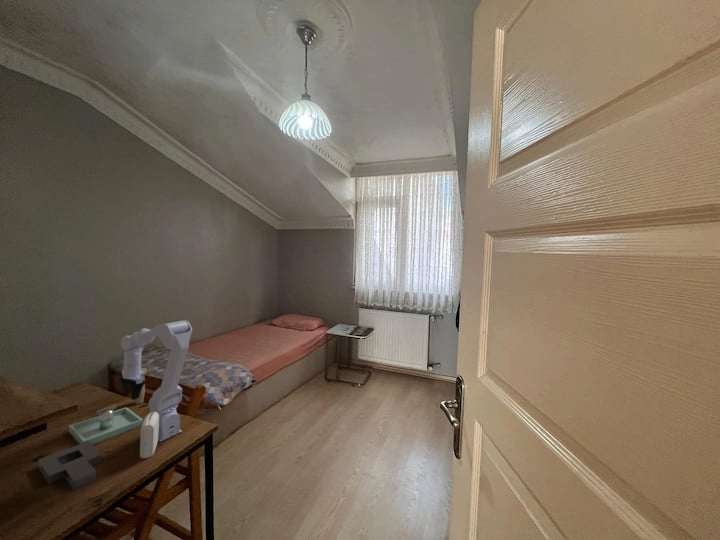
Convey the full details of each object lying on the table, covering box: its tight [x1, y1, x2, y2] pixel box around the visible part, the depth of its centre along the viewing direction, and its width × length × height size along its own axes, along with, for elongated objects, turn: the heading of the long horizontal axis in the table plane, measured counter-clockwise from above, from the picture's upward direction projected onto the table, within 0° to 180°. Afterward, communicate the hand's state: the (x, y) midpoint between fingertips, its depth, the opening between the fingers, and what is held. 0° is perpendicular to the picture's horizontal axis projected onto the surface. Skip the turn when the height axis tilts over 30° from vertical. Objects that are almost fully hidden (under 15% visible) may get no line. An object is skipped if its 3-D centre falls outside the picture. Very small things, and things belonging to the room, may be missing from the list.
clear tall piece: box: [96, 404, 118, 430], centre depth 114 cm, size 6×4×8 cm, turn 158°
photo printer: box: [139, 411, 159, 459], centre depth 104 cm, size 10×4×12 cm, turn 25°
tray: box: [68, 406, 144, 446], centre depth 114 cm, size 16×18×2 cm
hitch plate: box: [37, 441, 102, 490], centre depth 92 cm, size 20×12×2 cm, turn 58°
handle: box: [134, 367, 148, 405], centre depth 135 cm, size 5×6×15 cm
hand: (131, 395), depth 121 cm, fingers open, 7 cm apart
